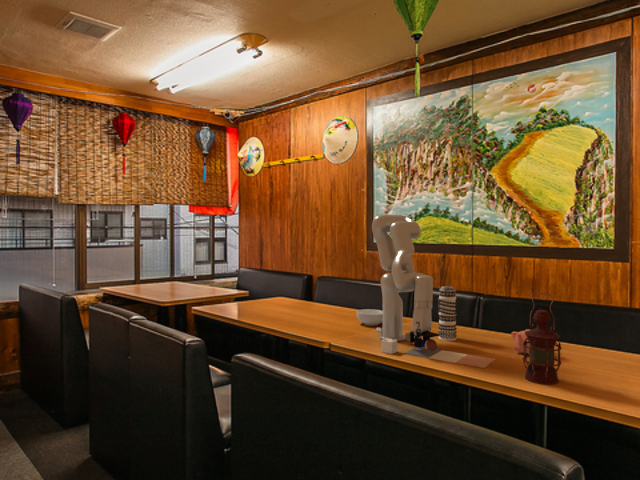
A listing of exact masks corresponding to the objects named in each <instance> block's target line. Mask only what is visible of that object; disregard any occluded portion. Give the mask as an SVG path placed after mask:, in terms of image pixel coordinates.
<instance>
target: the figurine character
mask: <svg viewBox="0 0 640 480" xmlns="http://www.w3.org/2000/svg"><path fill="white" fill-rule="evenodd" d="M418 331H421V330H418ZM404 335H405V340H406V341H407V342H408V341H409V343H410V346H413V347H414V332H413V330H411V331H409V332H406V333H405V334H404ZM419 335H420V333H419ZM421 337H422V338H423V337H427V338H430V339H428V340H423V339H422V347H425V348H426V349H427V350H428V351H434V350H436V349H437V348H438V343H437V341H436V340H435V339H432V338H434V337H439V333H437V332H432V331H431V332H428V331H425V332H423V333H422V336H421Z"/></svg>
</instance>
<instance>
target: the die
mask: <svg viewBox="0 0 640 480" xmlns="http://www.w3.org/2000/svg"><path fill="white" fill-rule="evenodd" d="M380 341H381V344H380V345H381V347H380V348H381V349H380V352H381V353H385V354H389V355H393V354H394V353H397V352H398V341H397V340H394V339H388V338H387V339H384V340H382V339H380Z"/></svg>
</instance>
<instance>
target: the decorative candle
mask: <svg viewBox="0 0 640 480" xmlns="http://www.w3.org/2000/svg"><path fill="white" fill-rule="evenodd" d="M456 292H457V289H456V288H455V287H454V286H450V285H445V286H441V287H440V288H439V297H438V298H437V304H438V305H437V308H438V309H437V310H438V315H439V319H438V324H437V325H438V327H437V329H439V330H438V331H437V332H438V333H437V334H439V336H437V337H438V338H437V339H439V340H441V341H448V342H449V341H456V340H457V332H458V331H456V330H457V320H456V319H457V318H456V316H457V314H458V313H457V312H458V310H457V309H456V308H458V302H456V301H458V300H459V299H458V298H457V296H456V295H457V293H456Z"/></svg>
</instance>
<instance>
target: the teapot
mask: <svg viewBox="0 0 640 480" xmlns="http://www.w3.org/2000/svg"><path fill="white" fill-rule="evenodd" d="M530 330H531V329H530V328H529V329H527V328H526V329H525V330H520V331H512V332H511V337H512V338H513V341H514V342H513V348H514V351H515V352H517V354H518V355H523V354H524V347H523V343H524V341H525V339H526V338H527V336H526V335H525V332H526V331H530ZM527 342H528V340H527ZM526 346H530V343H527V345H526ZM526 354H527V355H529V348H526Z"/></svg>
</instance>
